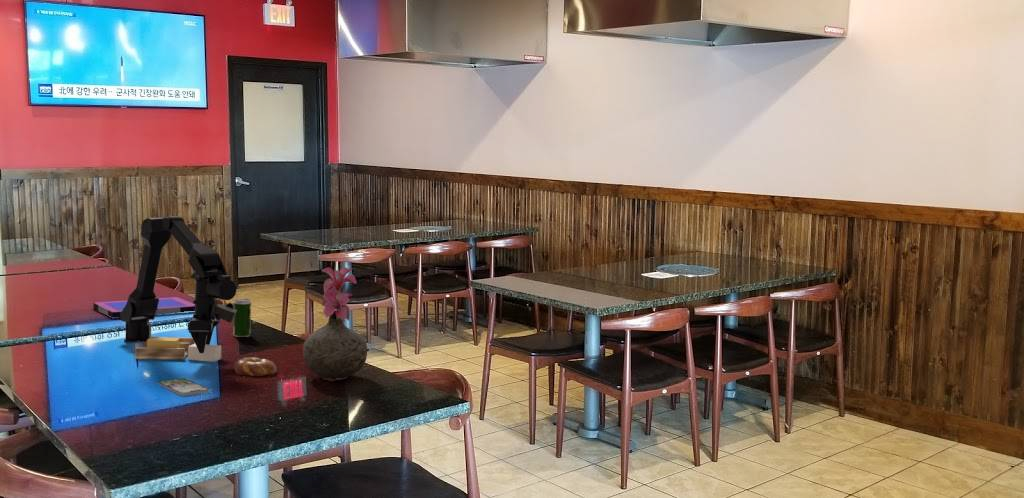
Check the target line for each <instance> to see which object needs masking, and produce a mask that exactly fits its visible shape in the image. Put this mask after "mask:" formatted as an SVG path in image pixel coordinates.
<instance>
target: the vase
mask: <svg viewBox="0 0 1024 498" xmlns="http://www.w3.org/2000/svg"><path fill="white" fill-rule="evenodd" d="M351 271H353V267H350V268H348V267H347V266H346V267H345V266H342V267H341V268H340V269H339V270H337V269H335V270H333V269H332V267H331V266H330V267H325V268H324V269H322V270H321V272H323V273H325V274H327V275H329V276H330V278H327V279H325V281H324V283H323V292H324V293H323V296H322V298H323V300H322V304H321V306H323V307H324V308H323V309H322V310H323V311H322V312H323V314H324V316H325V317H326V318H328V321H327V323H326V324H325V325H324V326H321V327H320V328H318V329H317V330H315V331H313V332H311V334H309V336H308V337H306V339H305V341H304V342H303V345H302V356H303V357H302V358H303V361H304V364H305V366H306V368H307V369H308V370H309V371H311V372H312V373H314V374H315V375H318V376H320V378H321V377H323V378H331V379H336V378H345V377H347V378H349V377H350V376H352V375H355V374H356V373H357V372H359V371H360V370H361V369H362V368H363V367H364V365H365V364H366V362H367V357H368V346H367V345H368V344H367V342H366V341H365V339H364V338H363V337H362V336H361V334H359V333H358V332H356V331H355V330H353V329H351V328H349V327H348V326H346V325H345V324H344V323H346V322H345V320H347V321H348V322H350V317H351V316H350V307H349V306H348V303H349V302H350V300H351V299H350V297H352V296H353V294H352V293H350V292H346V291H342V292H341V290H342V288H343V286H344V284H345V283H352V284H356V285H357V280H356V277H355V275H354V274H352V273H350V272H351Z"/></svg>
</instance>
